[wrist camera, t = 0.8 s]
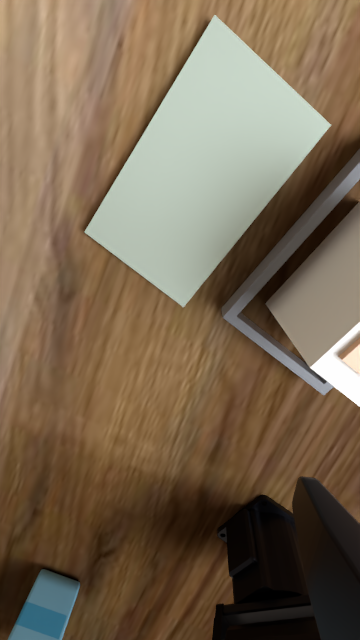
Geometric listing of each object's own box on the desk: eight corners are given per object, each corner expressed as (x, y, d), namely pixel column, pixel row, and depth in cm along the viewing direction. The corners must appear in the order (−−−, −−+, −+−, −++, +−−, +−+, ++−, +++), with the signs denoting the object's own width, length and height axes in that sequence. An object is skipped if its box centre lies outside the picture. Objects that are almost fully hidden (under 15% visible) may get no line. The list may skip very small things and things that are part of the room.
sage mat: (326, 128, 16) (331, 125, 15) (184, 304, 20) (183, 307, 19) (214, 22, 15) (214, 14, 14) (87, 231, 19) (84, 232, 18)
